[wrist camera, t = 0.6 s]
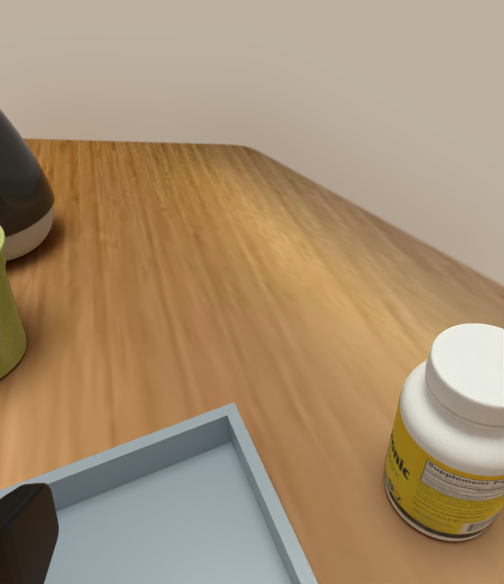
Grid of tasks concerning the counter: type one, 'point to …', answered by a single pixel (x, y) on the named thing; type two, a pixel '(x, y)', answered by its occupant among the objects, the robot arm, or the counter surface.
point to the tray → (174, 511)
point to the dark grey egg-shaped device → (22, 194)
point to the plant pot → (9, 321)
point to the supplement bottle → (451, 436)
